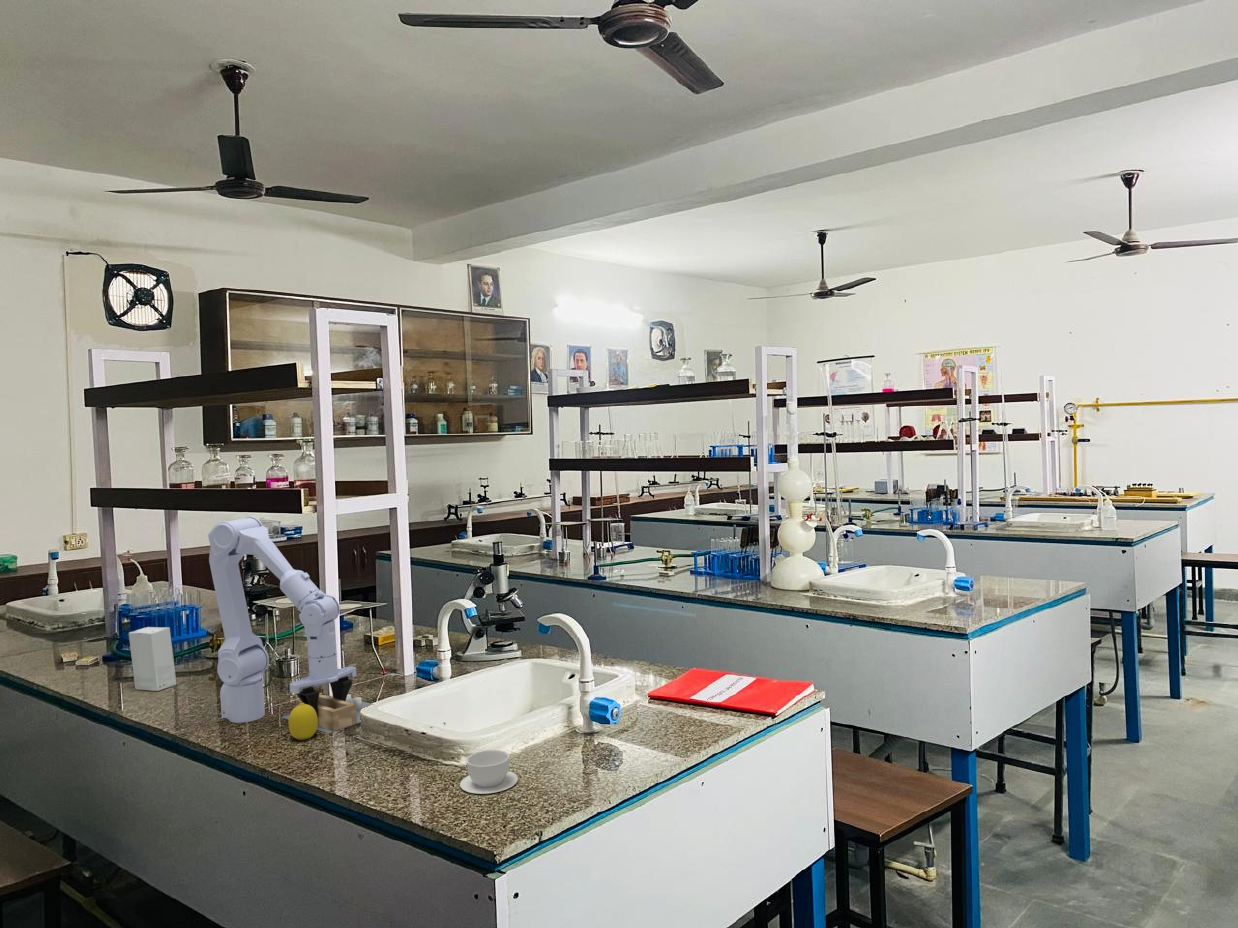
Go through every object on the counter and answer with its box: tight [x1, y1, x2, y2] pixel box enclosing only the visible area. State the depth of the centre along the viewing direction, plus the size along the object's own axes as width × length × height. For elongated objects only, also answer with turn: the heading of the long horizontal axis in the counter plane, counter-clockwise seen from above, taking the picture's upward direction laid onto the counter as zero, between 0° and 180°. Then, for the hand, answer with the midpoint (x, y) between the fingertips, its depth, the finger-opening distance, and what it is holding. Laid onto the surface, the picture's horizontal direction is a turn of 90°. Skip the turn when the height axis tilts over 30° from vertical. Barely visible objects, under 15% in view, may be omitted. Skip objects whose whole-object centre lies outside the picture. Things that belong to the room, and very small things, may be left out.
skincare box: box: [128, 626, 177, 692], centre depth 217 cm, size 8×6×15 cm
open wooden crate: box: [295, 693, 358, 732], centre depth 183 cm, size 14×5×4 cm, turn 51°
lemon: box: [288, 703, 318, 741], centre depth 173 cm, size 6×6×8 cm
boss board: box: [281, 693, 374, 734], centre depth 187 cm, size 18×16×4 cm
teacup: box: [459, 749, 519, 795], centre depth 150 cm, size 10×10×5 cm
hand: (326, 718), depth 183 cm, fingers closed on open wooden crate, 5 cm apart
